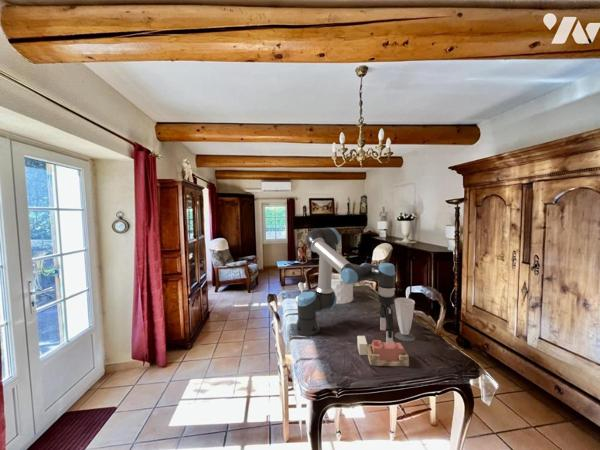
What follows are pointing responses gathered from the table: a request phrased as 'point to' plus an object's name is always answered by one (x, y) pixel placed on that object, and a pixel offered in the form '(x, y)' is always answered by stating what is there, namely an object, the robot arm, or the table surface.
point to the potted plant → (301, 287)
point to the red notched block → (387, 350)
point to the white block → (362, 345)
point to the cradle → (375, 360)
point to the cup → (404, 318)
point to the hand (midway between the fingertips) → (386, 336)
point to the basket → (341, 289)
